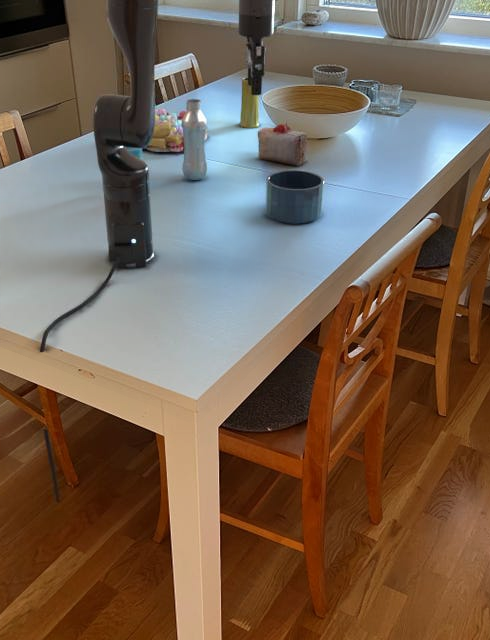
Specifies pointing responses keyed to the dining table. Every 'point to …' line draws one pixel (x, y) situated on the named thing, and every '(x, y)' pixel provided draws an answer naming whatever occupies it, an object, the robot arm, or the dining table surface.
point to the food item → (282, 145)
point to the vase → (249, 106)
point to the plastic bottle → (194, 141)
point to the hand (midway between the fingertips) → (254, 90)
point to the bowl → (294, 196)
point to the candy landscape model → (168, 132)
